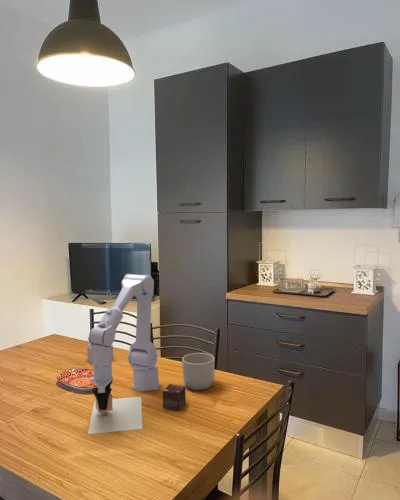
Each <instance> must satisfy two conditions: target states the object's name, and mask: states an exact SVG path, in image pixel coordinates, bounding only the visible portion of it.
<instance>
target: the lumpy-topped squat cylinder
mask: <svg viewBox="0 0 400 500" xmlns="http://www.w3.org/2000/svg"><path fill="white" fill-rule="evenodd" d="M113 346H114V345H113V344H112V345H111V357H112V362H114V347H113ZM86 347H87V348H86V350H87V351H86V353H87V354H86V355H87V362H88V363H89V364H90V365H93V350H92V349H91V344H90V343H89V342H88V344H87V345H86Z"/></svg>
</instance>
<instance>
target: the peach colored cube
mask: <svg viewBox="0 0 400 500" xmlns="http://www.w3.org/2000/svg"><path fill="white" fill-rule="evenodd" d="M94 397H95V396H94ZM112 399H113V395H112V393H110V395H109V398H108V405H107V409H106V410H100V409H99V406H98V402H97V399H96V397H95V400H96V409H97V411H98V413H102V412H107V411H111V410H113V408H112ZM95 400H94V401H95Z"/></svg>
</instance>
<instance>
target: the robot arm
mask: <svg viewBox="0 0 400 500" xmlns="http://www.w3.org/2000/svg"><path fill="white" fill-rule="evenodd" d="M154 290H155V280H154V279H153V277H152V276H151V275H149V274H133V273H132V274H131V273H126V274H125V275H124V277H123V279H122V280H121V289H120V292H119V294H118V295H117V298H116V300H115V302H114V304H113V306H111V307H108V308H107V310H106V311H105V313H104V315H103V316H102V317H101V319H100V321H99V323H98V324H97V326H95V327H93V328H91V329H90V331H89V334H88V337H87V339H88V344H89V343H90V344H91V349H92V350H93V376H91V377H90V378H89V382H93V383H94V384H95V385H96V387H93V390H92V393H93V395H94V397H96V399H97V402H98V406H99V409H100V410H106V409H107V405H108V398H109V395H110V393H111V392H112V389H113V388H112V387H111V385H112V383H113V381H114V376H113V361H112V357H111V345H113V343H114V342H115V339H116V333H117V328H118V326H119V325H120V323H121V321H122V320H123V318H124V314H123V311H124V310H125V308H126V307H127V306H128V304H129V303H130V301H131V300H132V298H133V297H135V298H136V299H137V301H136V305H137V306H136V329H135V331H136V332H135V341H134V342H133V343H131V344H130V345H129V351H128V354H127V361H128V363H129V365H130V366H131V368H132V371H133V372H132V374H133V375H132V376H133V378H132V379H133V384H132V388H133V390H134V391H136V392H148V391H155V390H156V391H157V390H160V388H159V387H160V380H159V366H158V365H157V364H158V363H157V362H158V354H157V346H156V345H155V344H154V343H153V342H152V341H151V323H152V322H151V321H152V320H151V319H152V297H154V292H155V291H154ZM111 394H112V393H111Z"/></svg>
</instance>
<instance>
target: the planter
mask: <svg viewBox="0 0 400 500" xmlns="http://www.w3.org/2000/svg"><path fill="white" fill-rule="evenodd" d="M181 360H182V361H181V362H182V363H181V365H182V378H183V383H184V386H185V387H186V388H188V389H190V390H193V391H204V390H207V389H210V388H211V386H212V385H213V383H214V379H215V361H216V360H215V356H214V355H212V354H210V353H206V352H193V353H188V354H186V355H184V356H183V357H182V359H181Z"/></svg>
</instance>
